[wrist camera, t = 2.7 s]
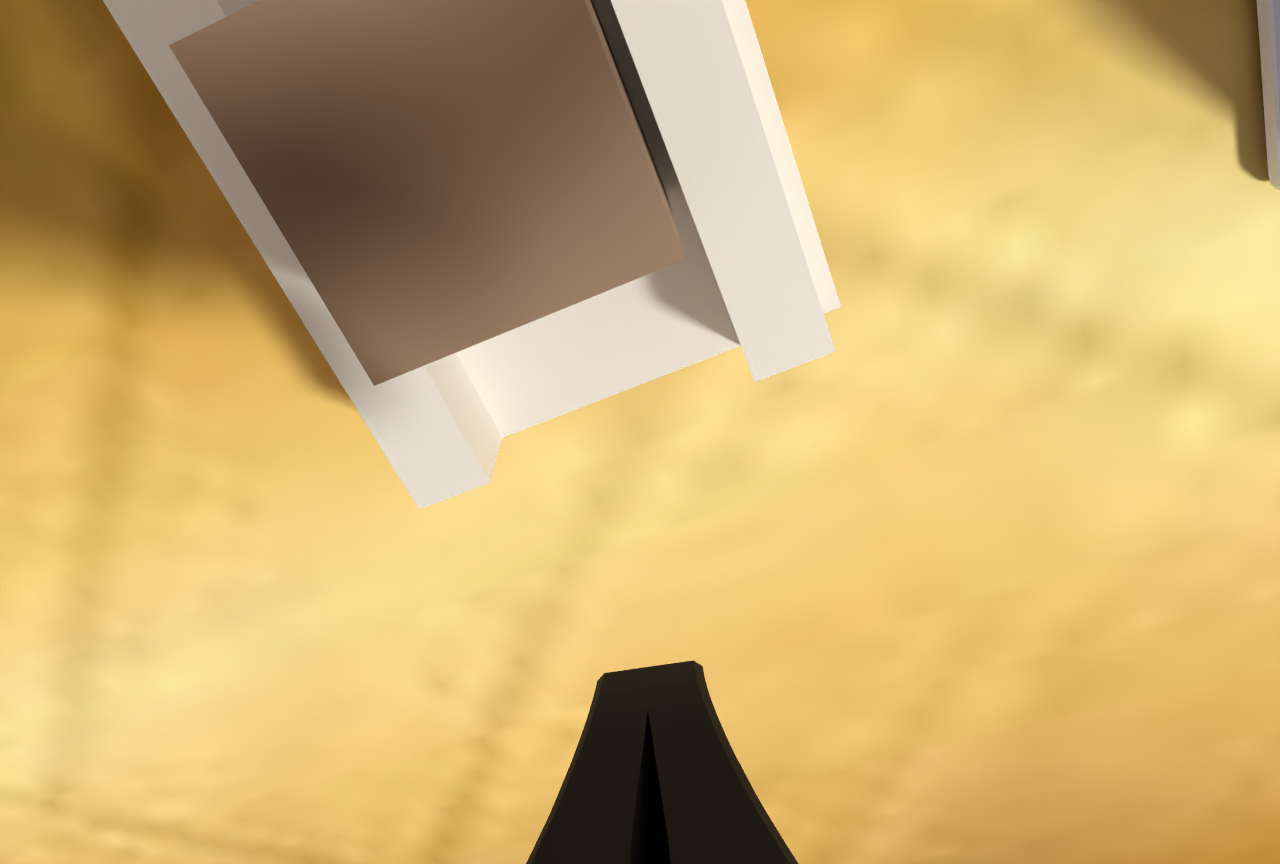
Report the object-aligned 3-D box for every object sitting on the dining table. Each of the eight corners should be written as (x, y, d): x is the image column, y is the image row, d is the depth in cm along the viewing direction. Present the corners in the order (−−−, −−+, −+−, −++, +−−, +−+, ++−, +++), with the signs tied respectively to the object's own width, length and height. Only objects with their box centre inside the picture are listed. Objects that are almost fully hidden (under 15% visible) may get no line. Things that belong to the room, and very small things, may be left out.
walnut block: (667, 194, 16) (685, 259, 12) (438, 291, 17) (373, 385, 12) (559, -85, 14) (531, -136, 10) (303, 39, 15) (167, 44, 10)
